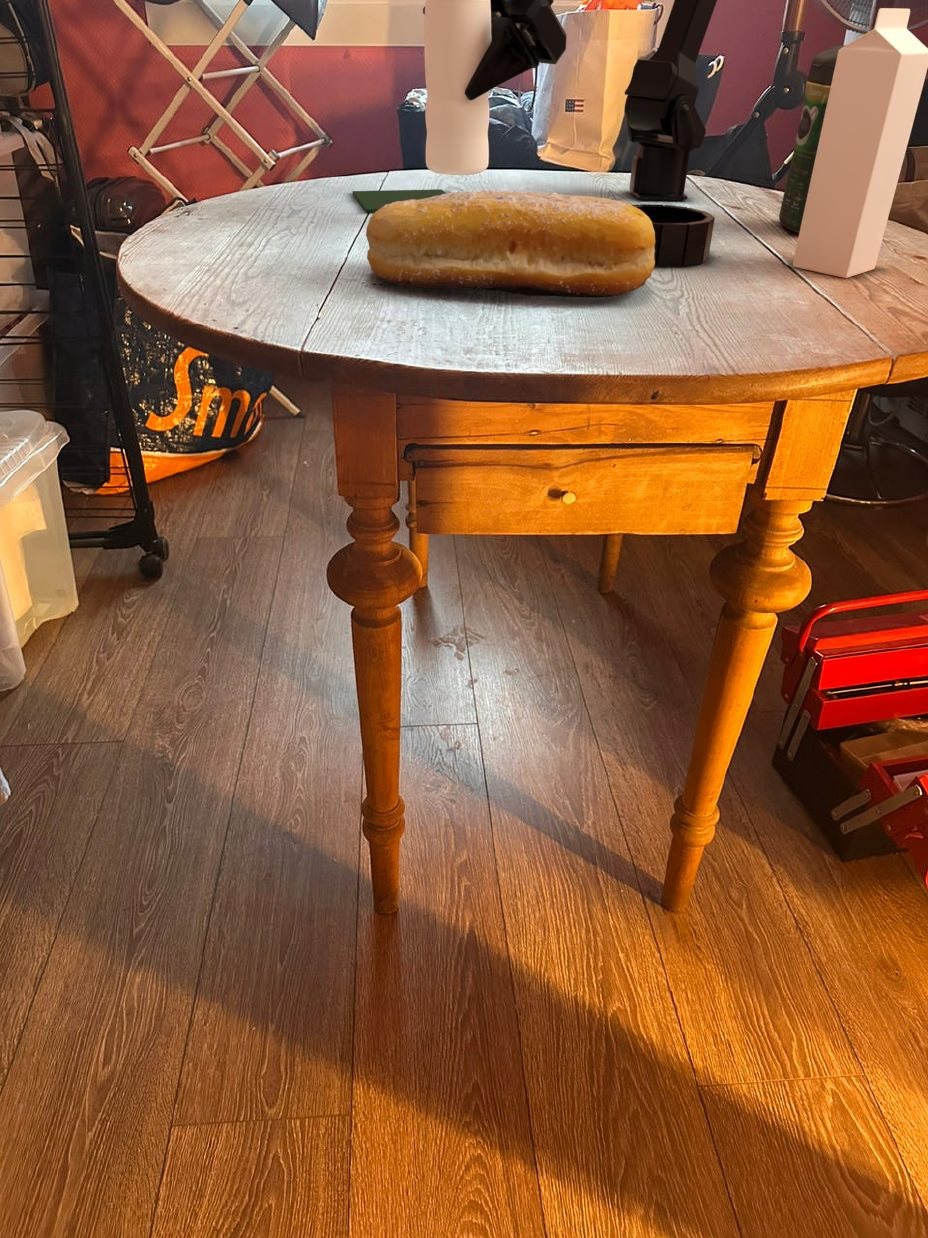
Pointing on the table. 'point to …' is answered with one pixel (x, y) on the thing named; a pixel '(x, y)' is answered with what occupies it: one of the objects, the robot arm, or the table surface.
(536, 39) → the robot arm
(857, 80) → the milk
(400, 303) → the table surface
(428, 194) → the mat
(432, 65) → the water bottle
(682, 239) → the holder
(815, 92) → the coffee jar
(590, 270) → the bread
